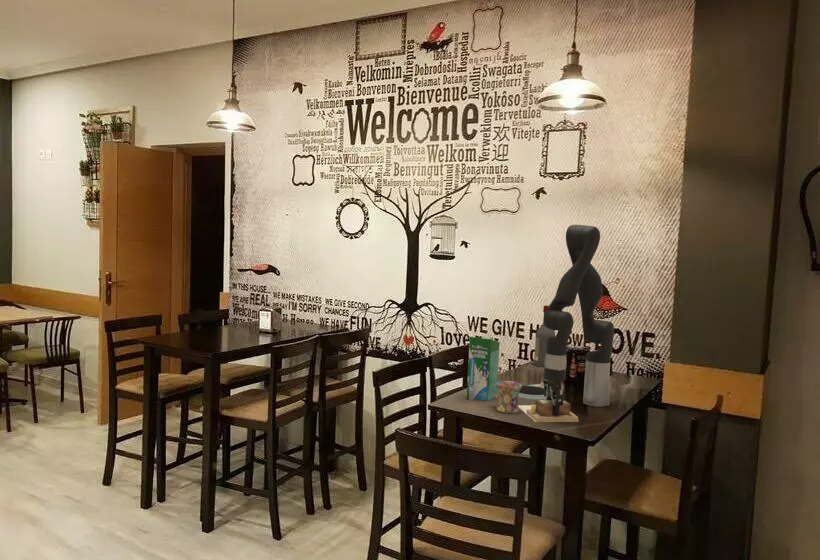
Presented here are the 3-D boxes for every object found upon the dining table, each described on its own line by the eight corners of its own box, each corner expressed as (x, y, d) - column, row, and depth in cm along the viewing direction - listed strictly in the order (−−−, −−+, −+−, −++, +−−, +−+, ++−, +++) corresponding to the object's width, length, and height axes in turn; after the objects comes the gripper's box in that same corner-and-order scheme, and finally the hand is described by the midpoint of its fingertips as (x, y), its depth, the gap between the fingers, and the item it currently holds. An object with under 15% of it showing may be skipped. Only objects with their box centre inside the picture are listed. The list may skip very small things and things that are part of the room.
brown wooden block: (563, 410, 231) (564, 399, 230) (569, 415, 225) (570, 403, 225) (534, 411, 229) (535, 399, 228) (540, 415, 223) (541, 403, 223)
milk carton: (496, 398, 253) (500, 336, 251) (487, 403, 246) (491, 339, 243) (475, 394, 258) (479, 333, 256) (466, 399, 250) (469, 336, 248)
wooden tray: (556, 407, 243) (557, 393, 243) (578, 424, 224) (579, 409, 223) (516, 408, 241) (517, 393, 240) (535, 424, 221) (536, 409, 220)
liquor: (553, 364, 322) (557, 305, 319) (552, 368, 313) (556, 307, 311) (535, 362, 324) (538, 304, 322) (533, 366, 316) (537, 306, 313)
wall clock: (565, 384, 267) (543, 396, 246) (565, 393, 268) (543, 406, 247) (526, 377, 277) (502, 388, 256) (526, 386, 277) (501, 397, 256)
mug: (524, 412, 236) (526, 384, 235) (513, 417, 228) (514, 388, 227) (496, 405, 243) (497, 378, 242) (484, 410, 236) (485, 382, 235)
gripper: (537, 361, 232) (535, 407, 233) (553, 371, 218) (549, 419, 219) (557, 362, 233) (554, 407, 235) (573, 371, 219) (570, 419, 220)
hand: (552, 412), depth 227 cm, fingers closed on brown wooden block, 5 cm apart
